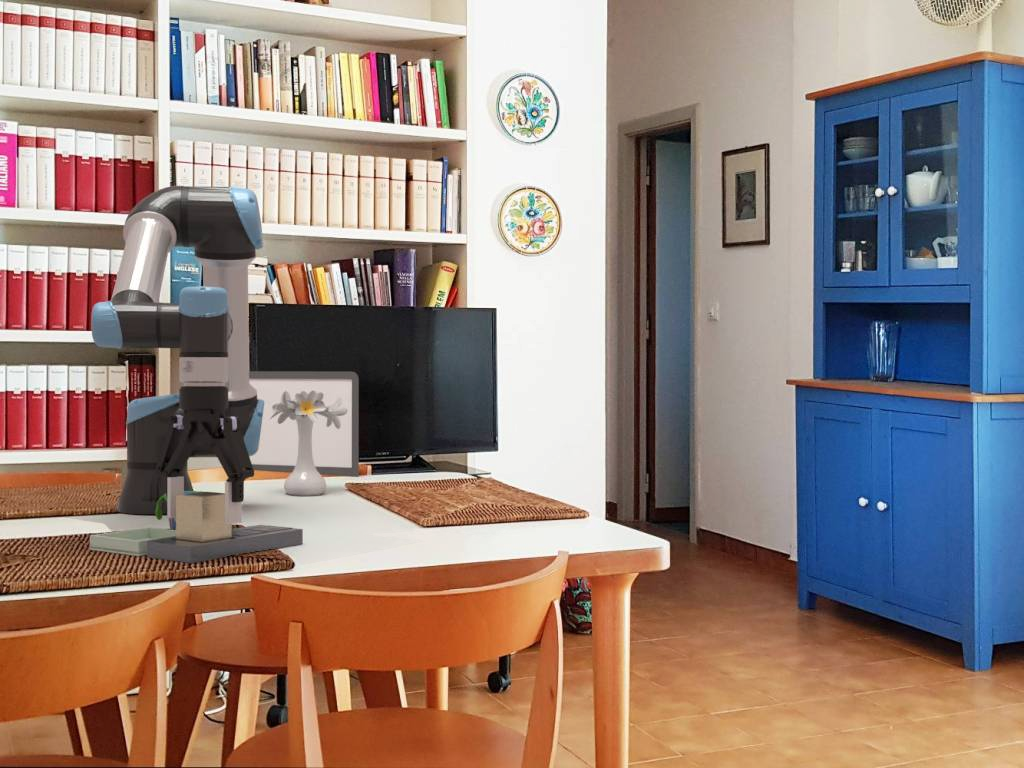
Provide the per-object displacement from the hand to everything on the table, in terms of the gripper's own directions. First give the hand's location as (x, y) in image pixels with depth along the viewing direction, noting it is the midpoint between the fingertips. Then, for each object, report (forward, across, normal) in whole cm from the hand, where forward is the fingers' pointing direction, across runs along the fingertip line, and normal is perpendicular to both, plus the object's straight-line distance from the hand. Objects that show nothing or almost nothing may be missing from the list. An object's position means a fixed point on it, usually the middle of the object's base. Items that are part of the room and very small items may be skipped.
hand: (203, 520), depth 185 cm
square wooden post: (+5, 0, 0) cm, 5 cm away
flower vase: (+6, -41, +67) cm, 79 cm away
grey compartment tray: (+5, 0, +5) cm, 7 cm away
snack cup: (+6, -20, +14) cm, 25 cm away
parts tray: (+5, -13, -1) cm, 14 cm away
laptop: (+6, -69, +81) cm, 107 cm away
